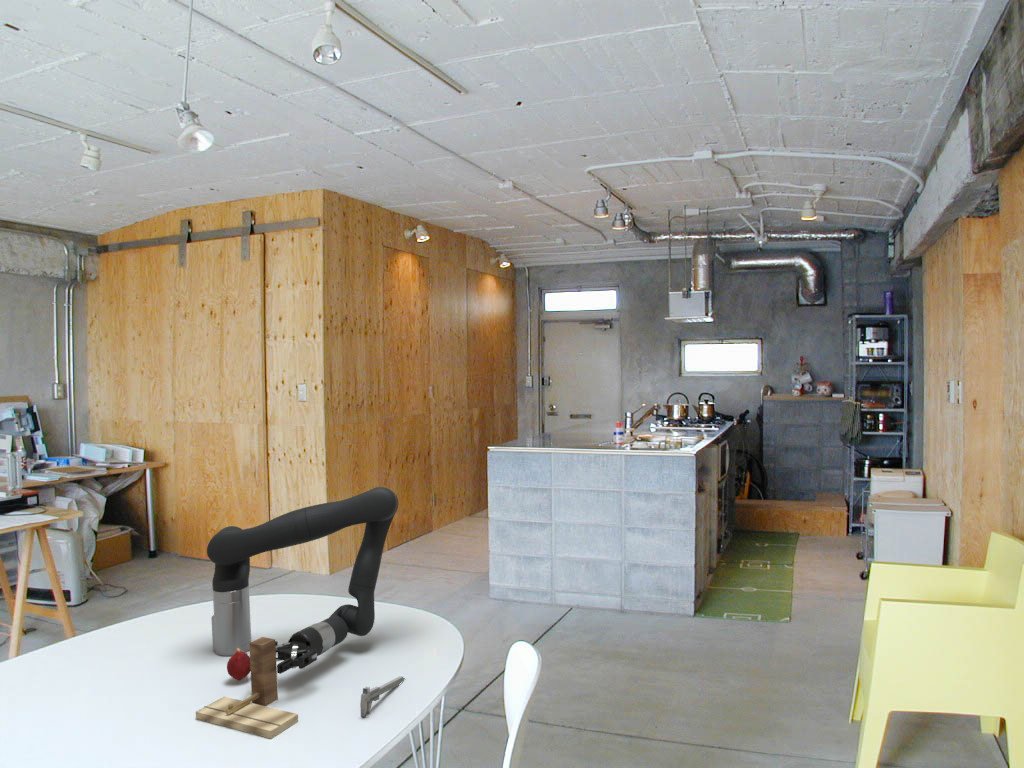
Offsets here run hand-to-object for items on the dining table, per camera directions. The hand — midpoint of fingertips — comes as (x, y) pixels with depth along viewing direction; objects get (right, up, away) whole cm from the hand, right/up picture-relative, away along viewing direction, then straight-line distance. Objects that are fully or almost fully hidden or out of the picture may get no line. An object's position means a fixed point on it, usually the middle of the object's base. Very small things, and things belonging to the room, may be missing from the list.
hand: (264, 666), depth 173 cm
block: (-2, -8, -4) cm, 9 cm away
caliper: (+28, -8, 0) cm, 29 cm away
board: (-1, -8, -9) cm, 12 cm away
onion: (-10, -8, +11) cm, 17 cm away
